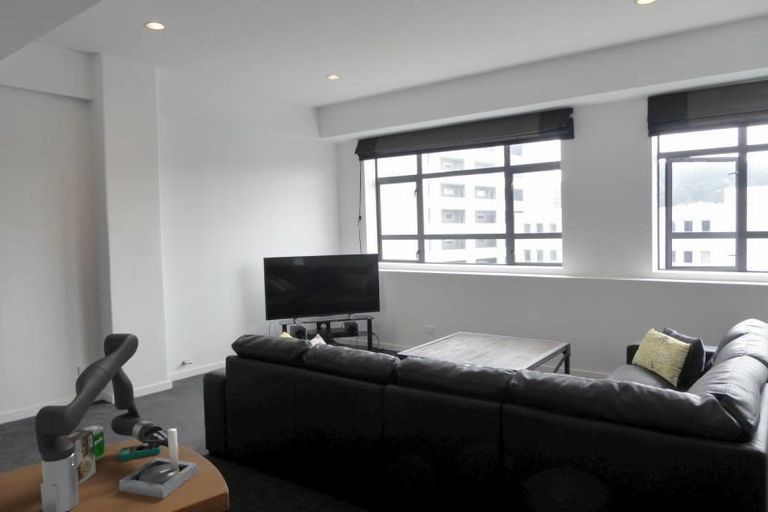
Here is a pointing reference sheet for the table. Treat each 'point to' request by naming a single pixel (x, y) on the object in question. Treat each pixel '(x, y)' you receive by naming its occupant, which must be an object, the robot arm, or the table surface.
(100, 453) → the soda can
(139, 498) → the table surface
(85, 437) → the coffee box
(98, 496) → the table surface
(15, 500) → the table surface
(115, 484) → the table surface
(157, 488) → the grey square frame
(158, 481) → the lever
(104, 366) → the robot arm
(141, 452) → the digital multimeter
